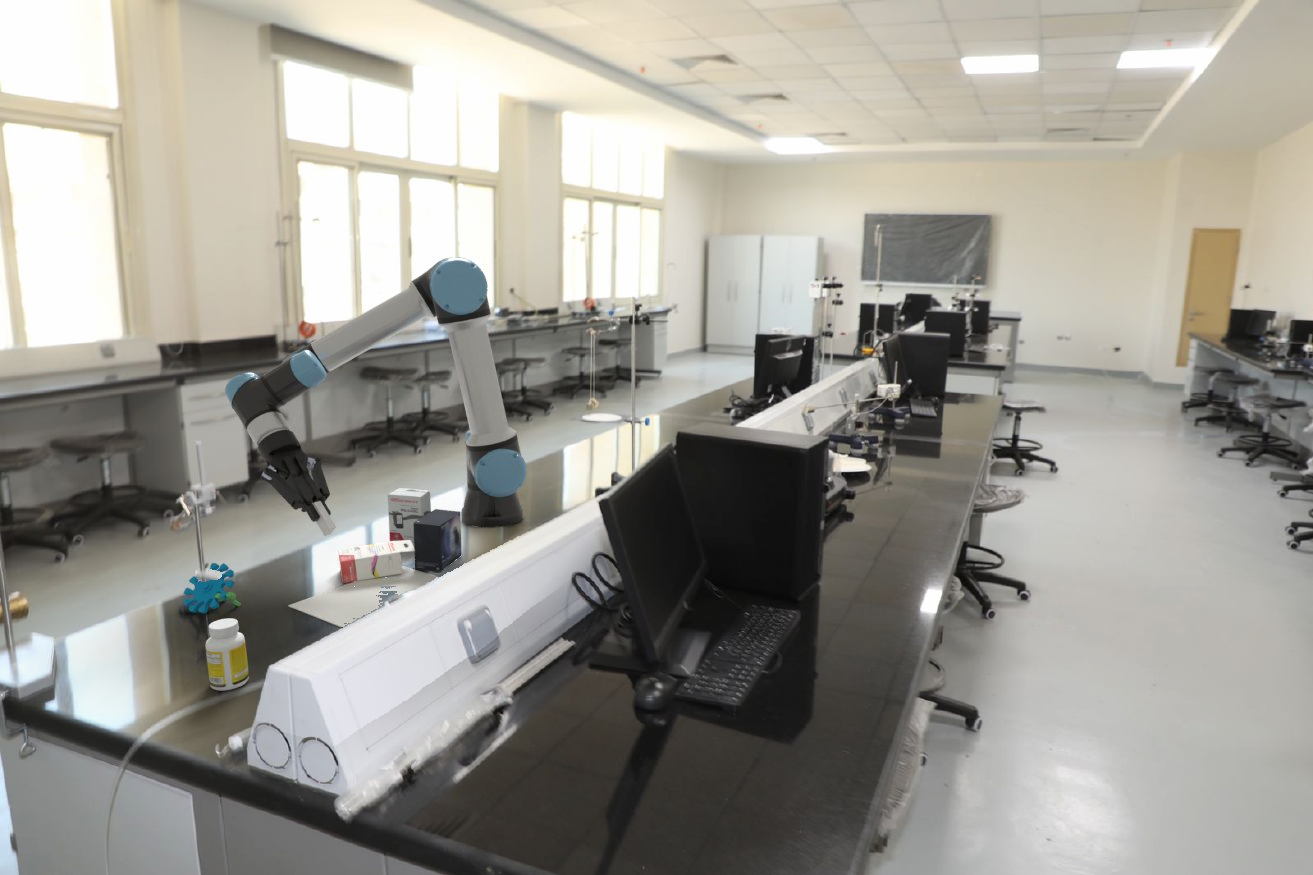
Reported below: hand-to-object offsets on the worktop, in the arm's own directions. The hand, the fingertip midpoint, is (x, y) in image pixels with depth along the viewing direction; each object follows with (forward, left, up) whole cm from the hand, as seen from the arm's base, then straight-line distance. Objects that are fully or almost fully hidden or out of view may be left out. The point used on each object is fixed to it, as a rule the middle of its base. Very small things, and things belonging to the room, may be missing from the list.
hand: (330, 531), depth 169 cm
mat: (0, +14, -10) cm, 17 cm away
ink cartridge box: (-2, 0, -8) cm, 8 cm away
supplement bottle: (+35, +24, -11) cm, 44 cm away
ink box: (-25, -6, -11) cm, 28 cm away
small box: (-19, +10, -11) cm, 24 cm away
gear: (+21, -6, -11) cm, 25 cm away
